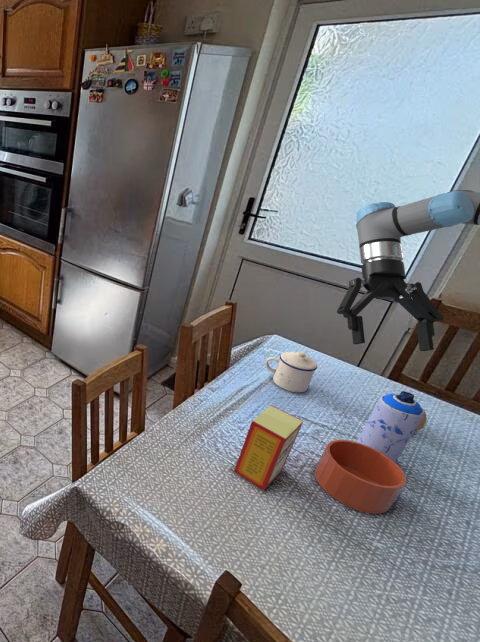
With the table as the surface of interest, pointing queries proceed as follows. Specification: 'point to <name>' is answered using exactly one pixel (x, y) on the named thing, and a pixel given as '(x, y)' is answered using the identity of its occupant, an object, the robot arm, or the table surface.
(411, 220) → the robot arm
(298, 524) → the table surface
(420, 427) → the egg
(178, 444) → the table surface
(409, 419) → the aerosol can
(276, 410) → the baking soda box
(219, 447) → the table surface
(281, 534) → the table surface
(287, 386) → the teacup with lid
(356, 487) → the terracotta bowl
